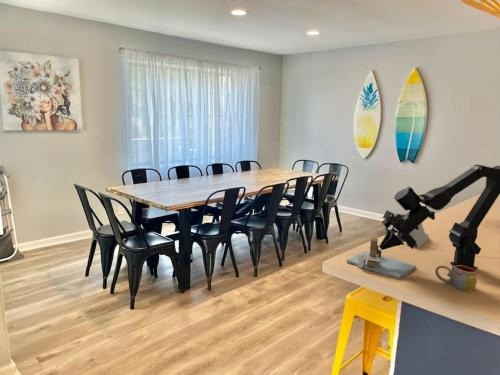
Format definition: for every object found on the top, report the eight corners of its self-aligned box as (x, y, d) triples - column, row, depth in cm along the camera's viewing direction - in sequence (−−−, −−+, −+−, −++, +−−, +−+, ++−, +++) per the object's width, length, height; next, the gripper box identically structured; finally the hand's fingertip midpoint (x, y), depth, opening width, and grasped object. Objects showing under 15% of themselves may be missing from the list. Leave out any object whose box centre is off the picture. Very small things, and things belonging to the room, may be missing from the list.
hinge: (418, 247, 156) (412, 224, 157) (407, 249, 159) (401, 226, 160) (429, 238, 169) (423, 217, 169) (418, 239, 172) (412, 218, 173)
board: (415, 268, 135) (416, 265, 135) (398, 279, 125) (398, 276, 125) (365, 253, 149) (365, 251, 149) (346, 262, 139) (346, 259, 139)
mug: (477, 287, 120) (480, 267, 119) (473, 294, 115) (476, 274, 114) (437, 277, 128) (439, 258, 127) (431, 283, 123) (433, 264, 122)
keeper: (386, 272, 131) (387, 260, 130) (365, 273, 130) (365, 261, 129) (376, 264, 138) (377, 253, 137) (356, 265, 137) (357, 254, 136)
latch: (370, 252, 146) (372, 231, 144) (381, 254, 144) (383, 233, 142) (364, 265, 133) (366, 242, 131) (376, 267, 131) (378, 244, 129)
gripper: (388, 198, 141) (357, 226, 143) (410, 209, 123) (374, 241, 125) (407, 218, 143) (376, 245, 145) (431, 232, 125) (396, 264, 127)
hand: (380, 248), depth 135 cm, fingers closed
